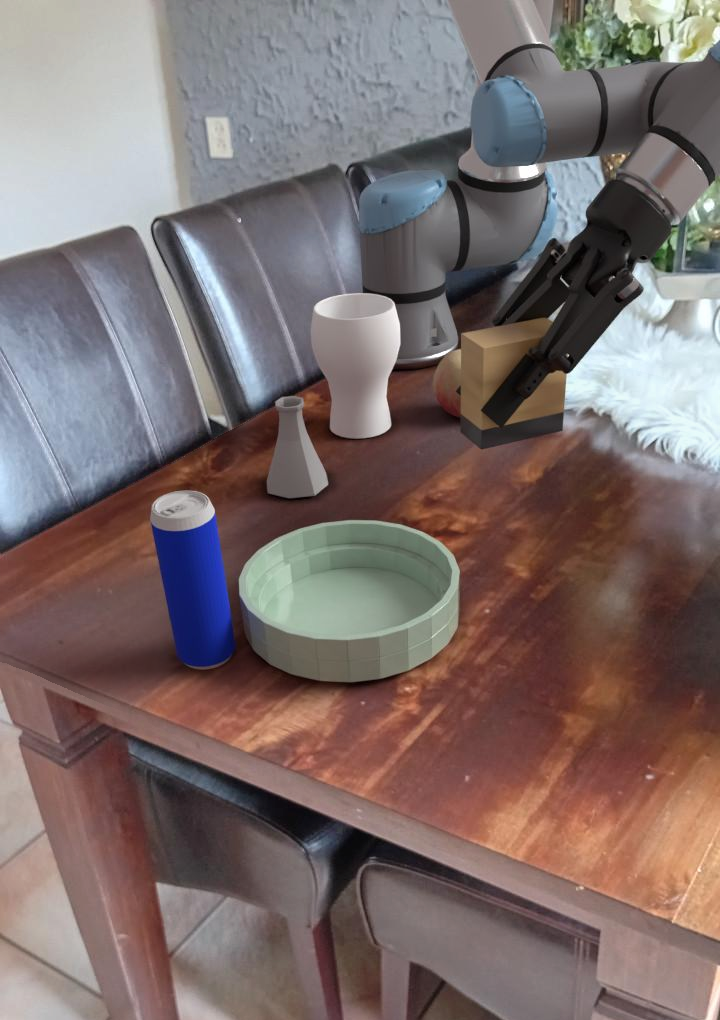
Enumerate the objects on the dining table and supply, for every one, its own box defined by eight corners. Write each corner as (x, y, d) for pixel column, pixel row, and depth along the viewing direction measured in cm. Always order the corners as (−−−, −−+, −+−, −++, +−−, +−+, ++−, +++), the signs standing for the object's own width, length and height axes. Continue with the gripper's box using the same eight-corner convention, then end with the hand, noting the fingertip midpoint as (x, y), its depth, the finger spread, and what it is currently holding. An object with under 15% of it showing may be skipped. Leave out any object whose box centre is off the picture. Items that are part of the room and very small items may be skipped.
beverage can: (212, 630, 91) (187, 482, 82) (248, 653, 88) (226, 501, 79) (166, 656, 88) (134, 505, 79) (201, 680, 85) (173, 526, 76)
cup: (304, 438, 123) (293, 317, 114) (338, 405, 131) (330, 288, 122) (385, 449, 120) (380, 324, 111) (414, 413, 128) (412, 294, 119)
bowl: (270, 561, 100) (264, 517, 97) (464, 567, 98) (465, 522, 95) (222, 682, 85) (214, 634, 82) (451, 693, 82) (451, 644, 79)
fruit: (455, 432, 123) (455, 369, 118) (423, 410, 128) (422, 349, 124) (510, 418, 125) (513, 355, 120) (477, 396, 131) (478, 336, 126)
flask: (321, 502, 110) (314, 416, 104) (257, 498, 111) (247, 414, 105) (335, 472, 116) (329, 389, 110) (275, 469, 117) (266, 387, 111)
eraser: (539, 414, 102) (545, 316, 96) (562, 431, 99) (570, 330, 93) (460, 432, 100) (460, 333, 94) (481, 449, 96) (483, 348, 90)
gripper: (725, 251, 87) (547, 465, 92) (611, 210, 100) (461, 398, 105) (682, 194, 82) (498, 422, 87) (568, 159, 96) (414, 358, 101)
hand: (478, 409), depth 96 cm, fingers closed on eraser, 4 cm apart
